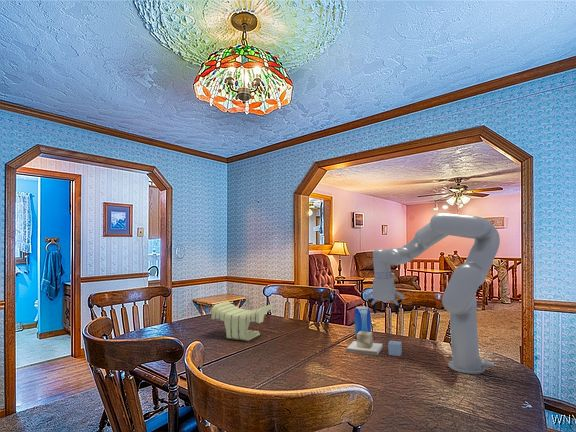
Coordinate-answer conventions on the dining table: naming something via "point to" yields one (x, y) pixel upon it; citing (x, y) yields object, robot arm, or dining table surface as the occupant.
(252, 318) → the slatted curved stool
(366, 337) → the maple cube
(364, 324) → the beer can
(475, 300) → the robot arm
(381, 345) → the base board
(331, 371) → the dining table surface
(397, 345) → the blue cube
